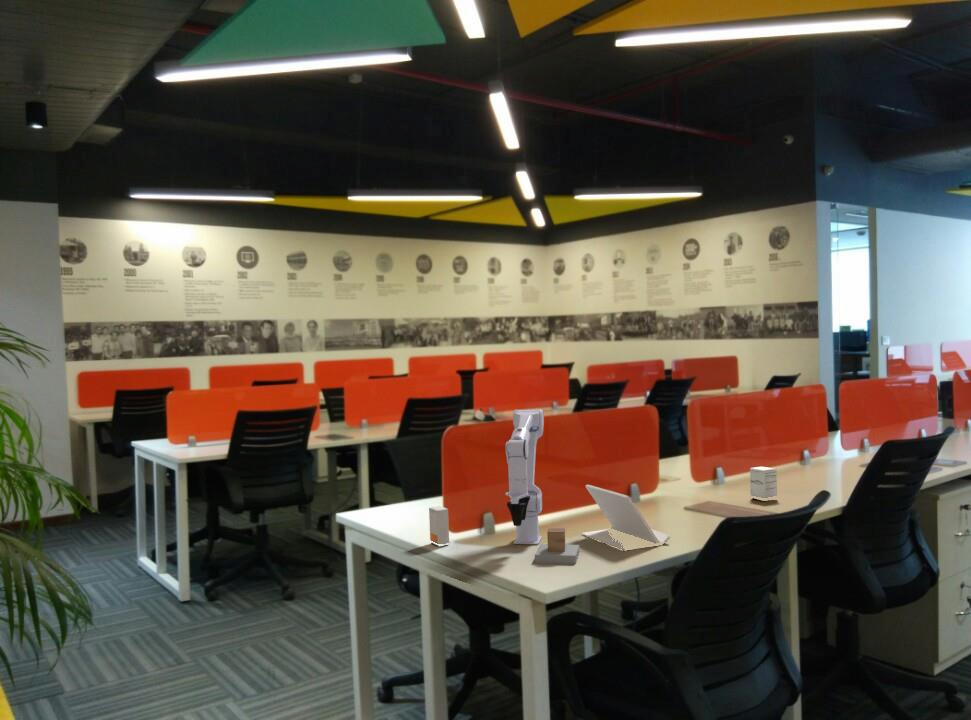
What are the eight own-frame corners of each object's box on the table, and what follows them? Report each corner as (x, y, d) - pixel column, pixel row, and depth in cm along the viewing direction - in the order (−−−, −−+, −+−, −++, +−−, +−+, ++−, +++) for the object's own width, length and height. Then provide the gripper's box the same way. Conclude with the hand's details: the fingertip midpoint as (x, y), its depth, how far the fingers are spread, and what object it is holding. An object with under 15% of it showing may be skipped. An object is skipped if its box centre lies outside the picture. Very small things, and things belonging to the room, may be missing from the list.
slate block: (540, 553, 236) (540, 544, 236) (579, 554, 233) (579, 544, 233) (534, 564, 224) (534, 554, 224) (575, 565, 221) (575, 555, 221)
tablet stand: (623, 552, 233) (621, 496, 233) (580, 535, 256) (579, 484, 255) (671, 544, 240) (670, 490, 240) (626, 528, 263) (624, 479, 263)
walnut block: (548, 547, 232) (548, 527, 232) (565, 547, 231) (564, 527, 231) (547, 551, 227) (547, 531, 227) (564, 551, 226) (564, 531, 226)
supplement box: (749, 499, 303) (748, 467, 303) (763, 497, 307) (762, 465, 306) (764, 502, 297) (763, 470, 296) (778, 500, 300) (777, 468, 300)
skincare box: (429, 543, 250) (428, 507, 250) (441, 541, 252) (440, 505, 252) (438, 547, 245) (436, 510, 245) (449, 545, 247) (448, 508, 247)
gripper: (509, 474, 243) (510, 517, 243) (500, 482, 228) (502, 528, 229) (531, 474, 241) (532, 517, 241) (524, 482, 227) (525, 528, 227)
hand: (519, 522), depth 235 cm, fingers open, 7 cm apart
